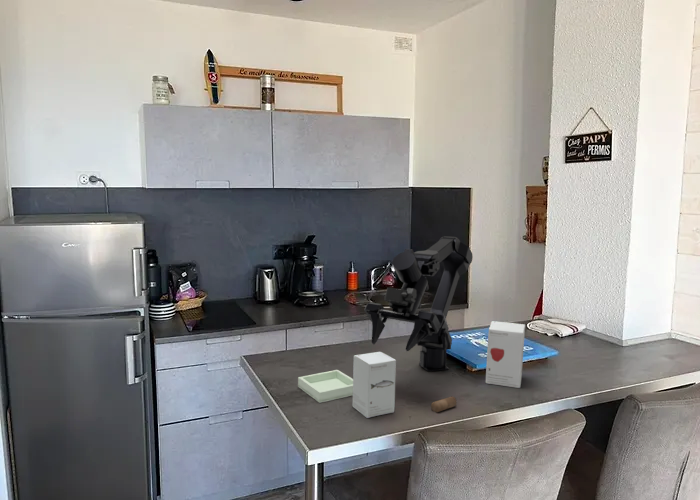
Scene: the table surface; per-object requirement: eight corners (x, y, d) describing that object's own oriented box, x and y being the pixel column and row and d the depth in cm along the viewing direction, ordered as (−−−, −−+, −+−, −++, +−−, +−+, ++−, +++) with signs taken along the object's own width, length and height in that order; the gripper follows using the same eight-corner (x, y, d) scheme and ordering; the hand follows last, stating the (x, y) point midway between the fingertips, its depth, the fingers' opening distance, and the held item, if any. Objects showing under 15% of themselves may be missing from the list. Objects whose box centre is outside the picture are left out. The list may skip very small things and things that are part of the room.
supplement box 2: (484, 383, 142) (487, 328, 140) (488, 372, 150) (490, 320, 148) (520, 388, 138) (524, 332, 137) (522, 377, 147) (525, 323, 145)
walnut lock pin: (447, 401, 129) (451, 394, 127) (454, 408, 127) (457, 401, 126) (429, 407, 125) (433, 399, 124) (436, 414, 123) (439, 407, 122)
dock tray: (337, 378, 144) (337, 369, 143) (360, 393, 134) (361, 383, 133) (298, 386, 137) (298, 377, 137) (319, 402, 128) (319, 392, 127)
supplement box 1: (367, 419, 119) (368, 364, 118) (351, 406, 126) (352, 354, 124) (395, 413, 123) (396, 359, 121) (378, 401, 129) (380, 350, 128)
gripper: (368, 271, 136) (344, 322, 128) (437, 279, 126) (415, 335, 118) (383, 296, 144) (360, 346, 136) (448, 305, 134) (428, 360, 126)
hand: (389, 346), depth 129 cm, fingers open, 9 cm apart
